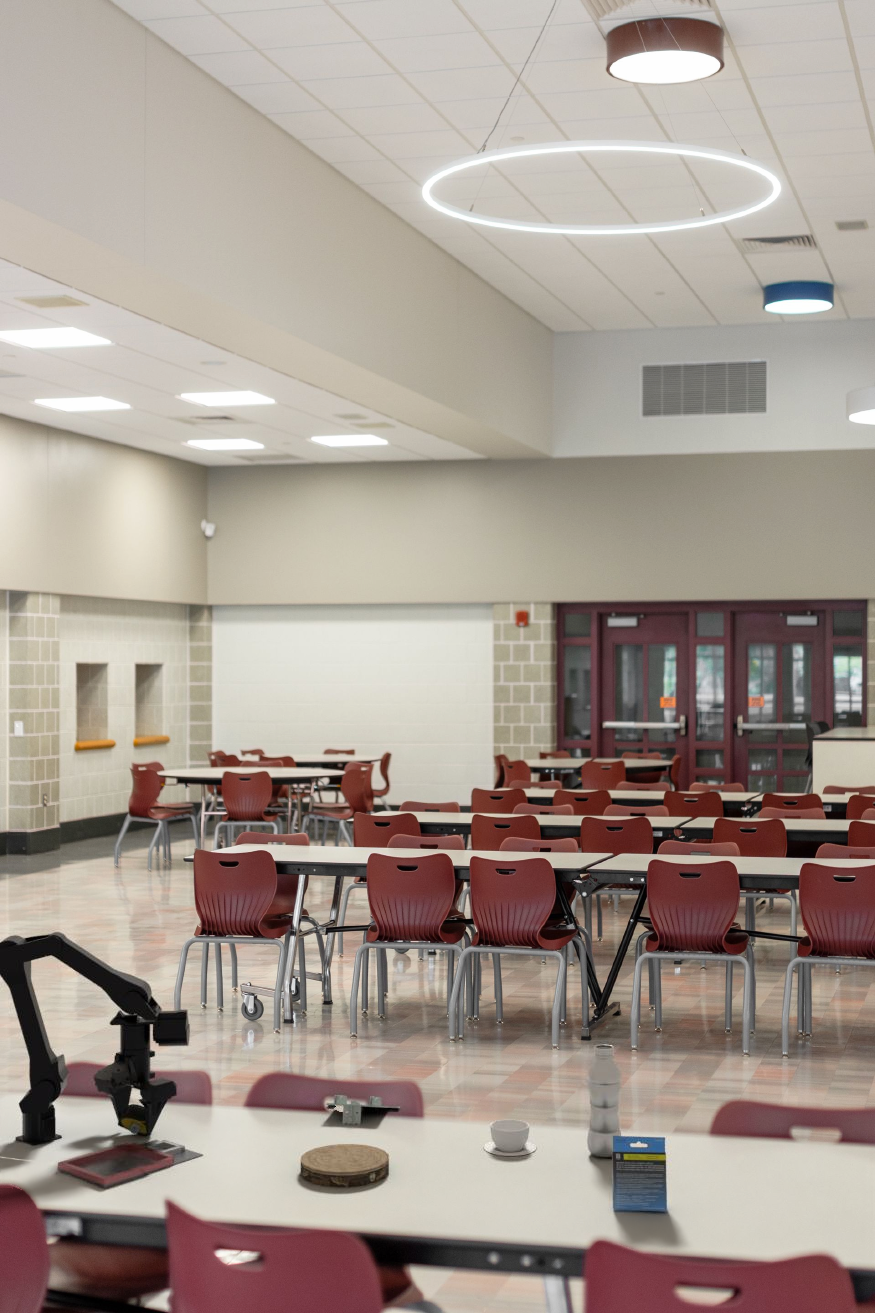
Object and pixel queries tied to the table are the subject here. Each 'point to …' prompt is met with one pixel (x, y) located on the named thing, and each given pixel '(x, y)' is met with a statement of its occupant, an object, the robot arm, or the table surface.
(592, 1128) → the plastic bottle
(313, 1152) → the wood slice
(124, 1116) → the tape measure
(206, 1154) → the table surface
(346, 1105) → the metal bracket
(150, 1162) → the fitting plate
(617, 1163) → the label tape cartridge
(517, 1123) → the teacup
